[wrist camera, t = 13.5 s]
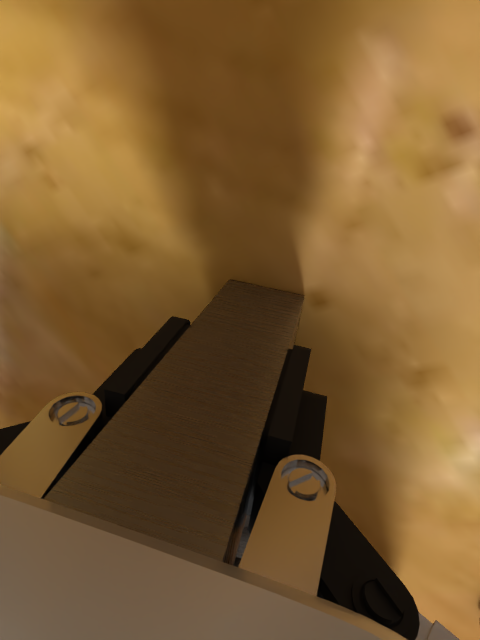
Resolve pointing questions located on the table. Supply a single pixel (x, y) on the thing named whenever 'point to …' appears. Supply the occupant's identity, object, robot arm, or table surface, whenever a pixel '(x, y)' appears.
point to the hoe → (192, 429)
